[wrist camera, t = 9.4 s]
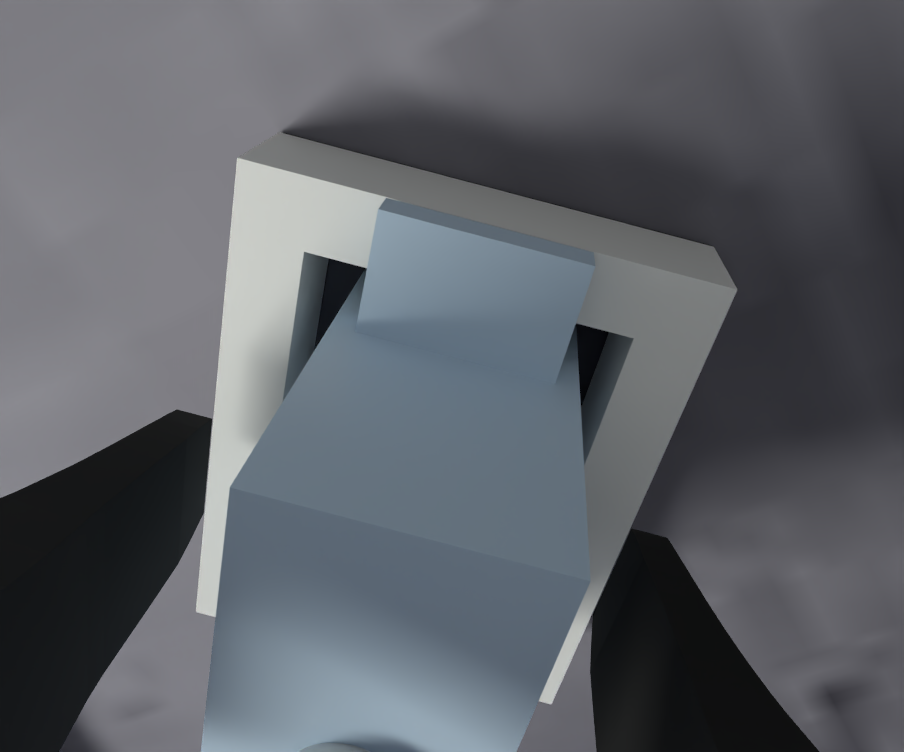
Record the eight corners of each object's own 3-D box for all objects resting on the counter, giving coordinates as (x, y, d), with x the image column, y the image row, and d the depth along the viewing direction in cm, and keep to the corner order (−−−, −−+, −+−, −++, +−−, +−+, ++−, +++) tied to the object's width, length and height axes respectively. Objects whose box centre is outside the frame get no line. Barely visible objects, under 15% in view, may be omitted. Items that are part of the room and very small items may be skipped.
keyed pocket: (714, 246, 13) (737, 289, 12) (551, 633, 18) (551, 704, 16) (278, 132, 13) (237, 158, 12) (230, 549, 18) (195, 611, 16)
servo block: (610, 216, 13) (664, 465, 7) (473, 615, 18) (426, 988, 12) (388, 158, 13) (224, 350, 7) (310, 572, 18) (169, 922, 12)
